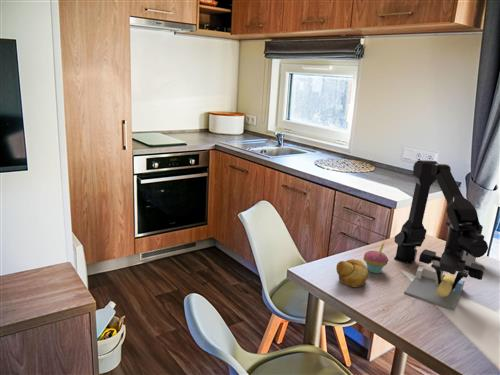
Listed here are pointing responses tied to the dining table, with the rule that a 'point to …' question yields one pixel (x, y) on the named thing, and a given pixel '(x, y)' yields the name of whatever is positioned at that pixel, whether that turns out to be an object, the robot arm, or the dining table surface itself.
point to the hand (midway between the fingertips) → (445, 287)
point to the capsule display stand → (433, 289)
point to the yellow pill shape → (446, 285)
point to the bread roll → (352, 272)
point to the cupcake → (375, 260)
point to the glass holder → (467, 256)
